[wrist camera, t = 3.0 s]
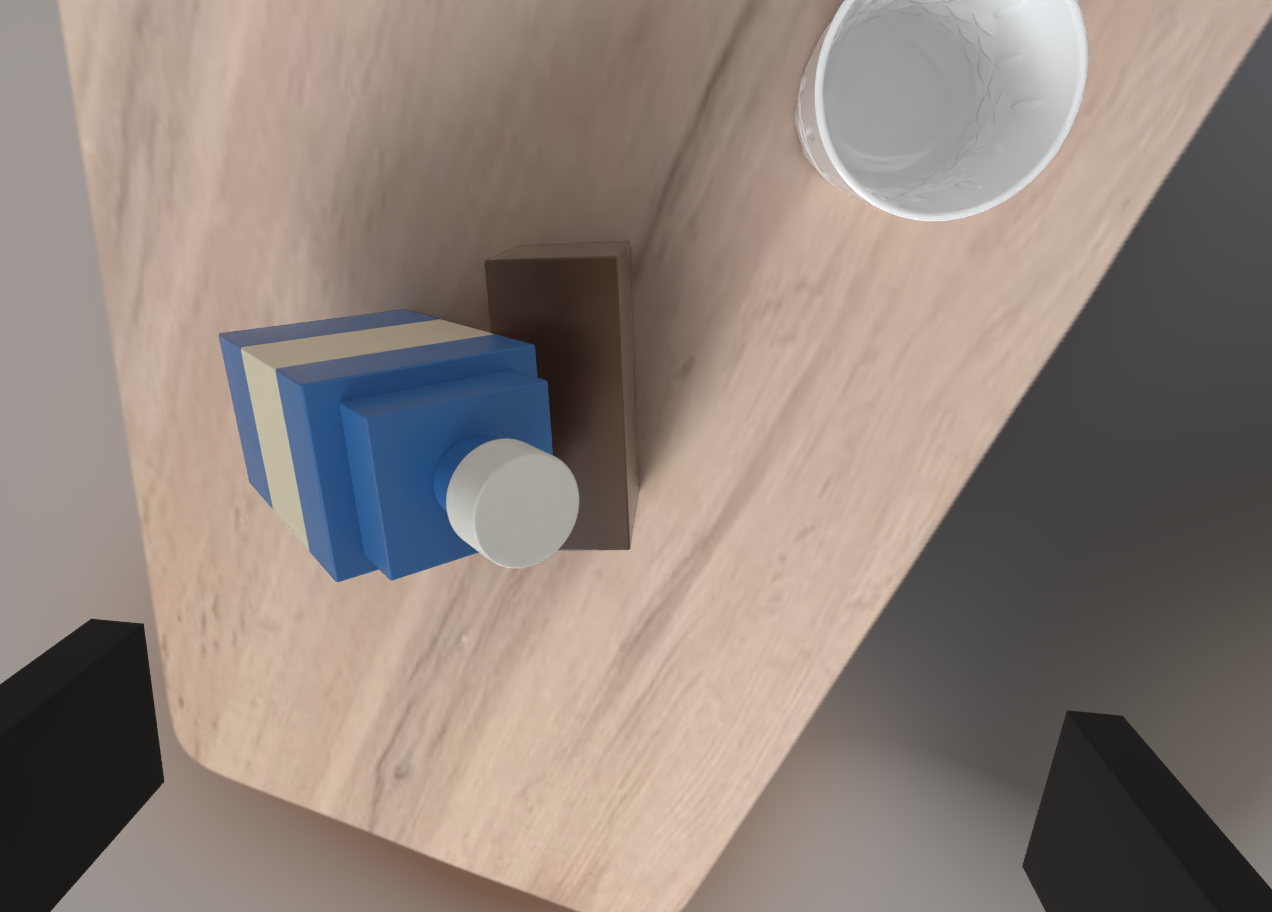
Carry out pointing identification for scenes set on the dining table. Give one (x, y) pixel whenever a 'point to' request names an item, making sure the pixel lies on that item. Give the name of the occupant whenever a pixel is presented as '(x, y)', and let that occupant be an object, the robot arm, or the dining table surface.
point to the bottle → (400, 442)
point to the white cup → (941, 100)
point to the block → (580, 370)
